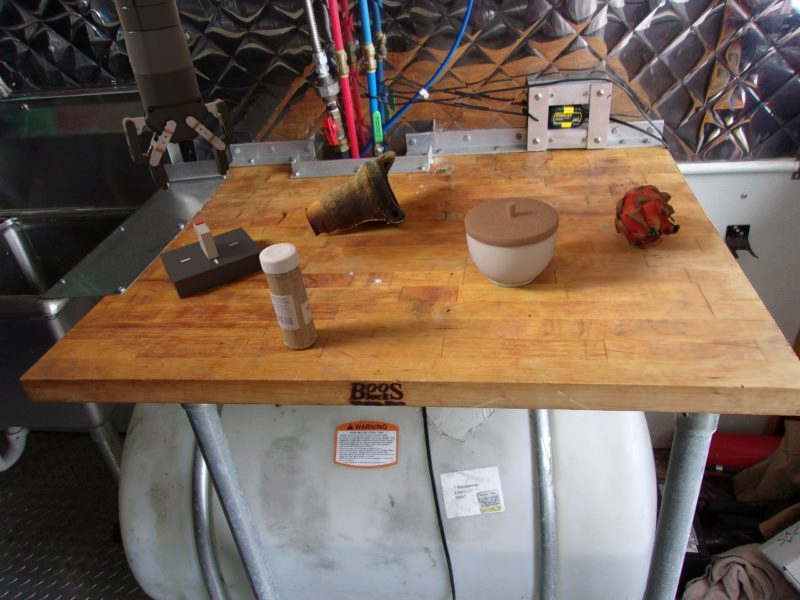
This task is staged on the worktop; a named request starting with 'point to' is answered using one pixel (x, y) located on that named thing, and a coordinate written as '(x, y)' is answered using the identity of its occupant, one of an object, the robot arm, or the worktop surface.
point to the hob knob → (205, 239)
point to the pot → (358, 200)
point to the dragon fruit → (644, 216)
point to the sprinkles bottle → (289, 294)
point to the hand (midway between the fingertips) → (194, 181)
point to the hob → (212, 262)
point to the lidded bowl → (511, 239)
